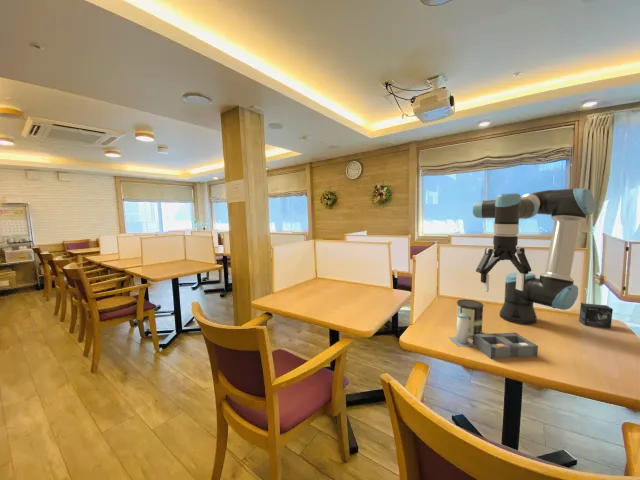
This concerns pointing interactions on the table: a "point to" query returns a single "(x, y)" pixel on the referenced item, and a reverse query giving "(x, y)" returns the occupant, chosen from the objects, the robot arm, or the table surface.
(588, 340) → the table surface
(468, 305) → the coffee can
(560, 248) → the robot arm
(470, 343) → the mat
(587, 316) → the box
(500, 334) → the socket box
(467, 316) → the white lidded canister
